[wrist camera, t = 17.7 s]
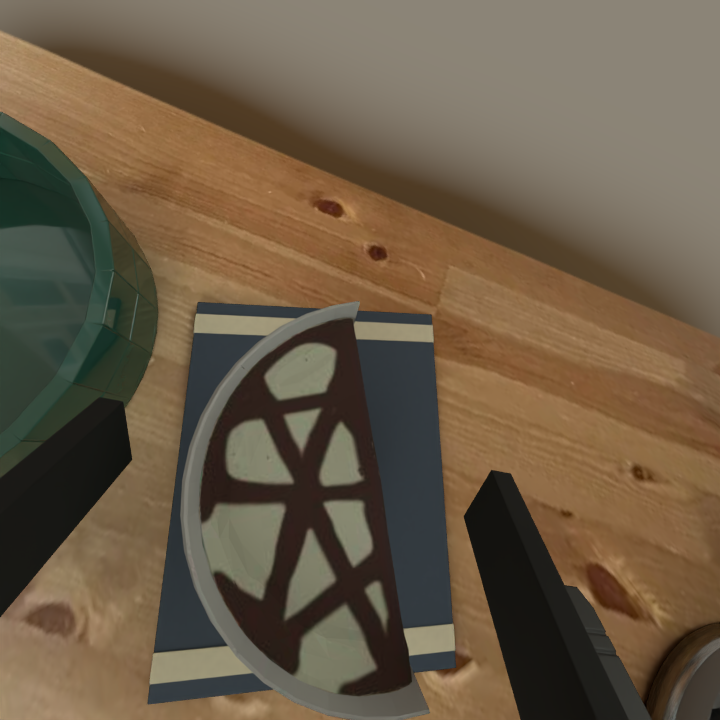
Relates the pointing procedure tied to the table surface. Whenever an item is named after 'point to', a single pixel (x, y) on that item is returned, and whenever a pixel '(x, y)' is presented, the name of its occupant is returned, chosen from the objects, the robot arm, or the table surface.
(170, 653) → the towel
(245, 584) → the food container
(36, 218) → the green round shallow dish
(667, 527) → the table surface
